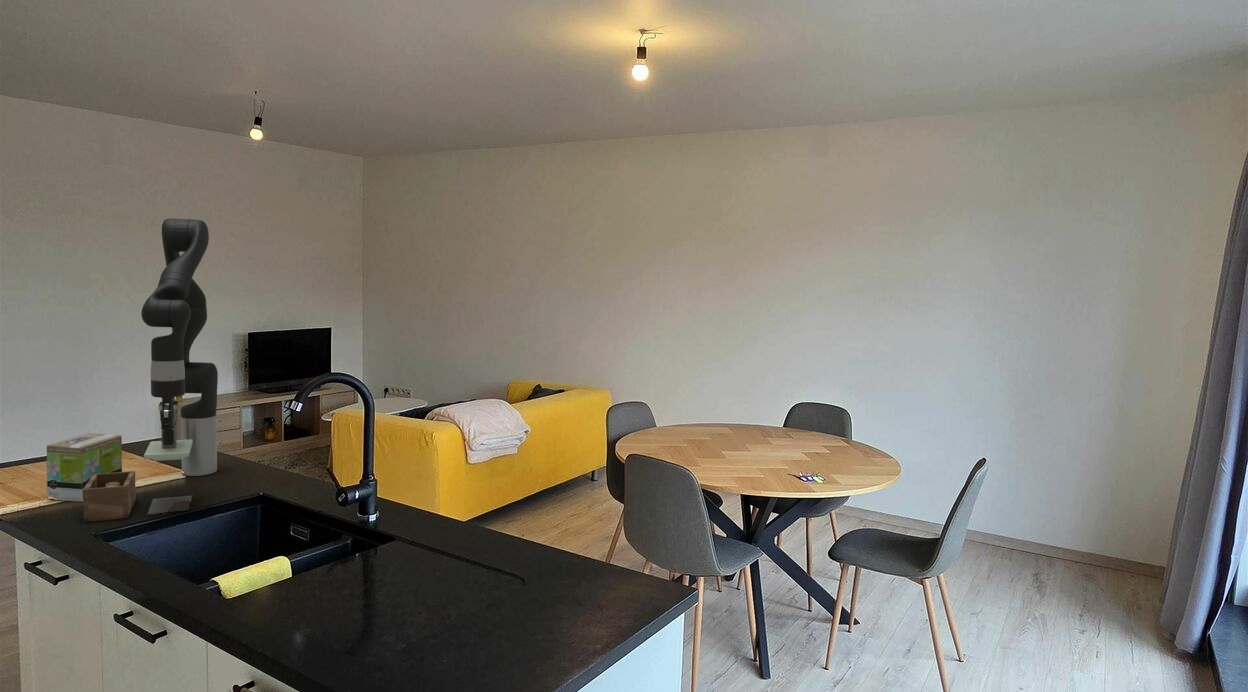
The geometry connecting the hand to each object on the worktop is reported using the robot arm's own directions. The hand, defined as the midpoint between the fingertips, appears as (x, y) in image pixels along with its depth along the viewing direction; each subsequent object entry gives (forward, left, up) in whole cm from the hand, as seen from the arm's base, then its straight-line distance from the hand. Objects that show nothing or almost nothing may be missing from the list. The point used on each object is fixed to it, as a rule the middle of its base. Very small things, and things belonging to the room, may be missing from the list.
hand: (169, 442), depth 193 cm
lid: (0, 0, -3) cm, 3 cm away
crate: (0, -13, -17) cm, 21 cm away
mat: (0, 0, -17) cm, 17 cm away
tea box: (-18, -21, -17) cm, 32 cm away
